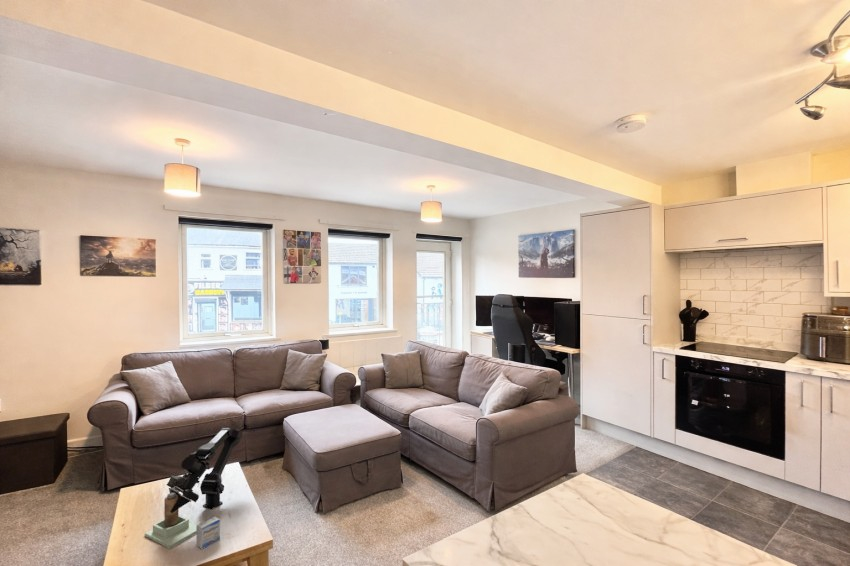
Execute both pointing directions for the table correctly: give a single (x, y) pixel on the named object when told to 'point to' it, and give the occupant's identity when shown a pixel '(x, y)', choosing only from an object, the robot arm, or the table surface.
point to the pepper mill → (169, 517)
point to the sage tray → (172, 532)
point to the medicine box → (208, 532)
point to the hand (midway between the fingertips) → (168, 510)
